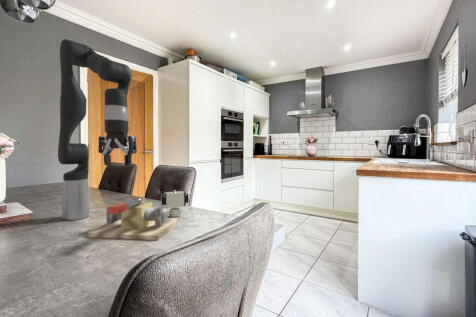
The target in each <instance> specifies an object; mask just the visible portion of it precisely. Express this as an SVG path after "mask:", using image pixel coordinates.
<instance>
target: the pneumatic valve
mask: <svg viewBox="0 0 476 317" xmlns="http://www.w3.org/2000/svg"><path fill="white" fill-rule="evenodd" d="M163 193H164V194H163V195H162V194H161V195H160V203H161V204H160V206H161V205H167V209H169V210H168V217H170V218H180V216H181V215H182V209H180V208H182V207H186V205H187V204H188V203H189V199H190V198H189V193H186V192H185V191H184V190H180V191H179V190H176V189H173V191H164V192H163Z"/></svg>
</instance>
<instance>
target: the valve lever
mask: <svg viewBox="0 0 476 317" xmlns="http://www.w3.org/2000/svg"><path fill="white" fill-rule="evenodd" d="M141 202H142V197H134V198H131V199H129V200H126V201H124V202H118V203H115V205H114V204H111V205H110V206H107V207H108V214H119V213H121V212H123V211H126V210H127V208H129V207H132V206H134V205H136V204H139V203H141Z"/></svg>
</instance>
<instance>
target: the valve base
mask: <svg viewBox="0 0 476 317" xmlns="http://www.w3.org/2000/svg"><path fill="white" fill-rule="evenodd" d="M115 204H116V203H115ZM115 204H113V205H115ZM108 207H109V206H107V207H105V208H106V209H105V210H106V224H103V225H101V226H99V227H97V228H94V229H93V230H90V231H88V232H87V238H103V239H104V238H105V239H121V240H122V239H126V240H127V239H128V240H141V241H142V240H143V241H144V240H147V241H159V240H160V239H161V238H162V237H163V236H165V235H166V234H167V233H168V232H170V231H171V230H172V229H174V227H176V226H177V225H178V224H179V223H181V218H180V217H169V210H168V208H167V205H161V204H160V205H159V206H157V207H155V208H154V207H153V202H145V201H144V202H142V201H141V203H139V204H136V205H134V206H132V207H129V208H127V210H126V211H123V212H121V213H119V214H108Z"/></svg>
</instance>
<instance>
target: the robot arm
mask: <svg viewBox="0 0 476 317" xmlns="http://www.w3.org/2000/svg"><path fill="white" fill-rule="evenodd" d="M59 61H60V62H59V63H60V64H59V65H60V98H59V100H60V101H59V119H60V120H59V122H60V123H59V124H60V126H59V136H58V146H57V159H58V162H59V163H60V165H77V166H76V167H75V168H74V169H72V170H70V171H67V172H65V173H64V174H62V175H63V176H62V177H63V178H62V180H63V182H62V184H63V197H62V198H61V206H62V207H61V208H62V209H61V210H62V219H63V220H67V221H77V220H82V219H85V218H88V217H90V191H89V190H90V188H89V173H90V172H89V170H90V168H89V164H90V162H89V160H90V150H89V147H88V145H87V144H86V143H80V142H79V143H76V142H75V143H73V142H72V143H71V138H72V135H73V133H74V132H75V130H76V129H77V128H78V126H79V125H80V124H81V123H82V121H83V120H84V119H85V117H86V115H87V102H88V100H87V97H86V94H85V93H84V91H83V90H82V88H81V86H80V85H79V83H78V81H77V80H76V76H75V74H74V70H73V66H74V67H75V66H76V67H81V68H85V69H86V68H87V69H89V70H90V71H91V72H93V73H94V74H97V76H98V77H99V78H100V79H101V80H103V81H105V82H109V83H110V82H111V83H115V84H117V87H115V88H107V89H106V90H105V91H104V112H103V113H104V115H103V116H104V122H103V123H104V132H105V134H106V135H105V136H98V147H97V148H98V153H99V154H102V155H103V163H104V166H111V165H112V156H111V155H112V152H113V151H115V149H120V151H122V152H123V154H124V157H123V158H124V166H125V167H129V166H131V165H132V159H133V158H132V155H134V154H137V152H138V151H137V150H138V149H137V148H138V147H137V138H136V136H134V135H128V133H129V129H130V128H129V110H128V94H129V90H130V86H131V82H132V79H133V73H132V70H131V68H130V67H129V65H127V64H124V63H122V62H118V61H114V60H112V59H110V58H108V57H106V56H104V55H102V54H99V53H97V52H96V51H95V50H94V49H93V48H91V47H90V46H89V45H86V44H83V43H80V42H77V41H74V40H70V39H67V38H64V39H62V40H61V42H60V46H59Z"/></svg>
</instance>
